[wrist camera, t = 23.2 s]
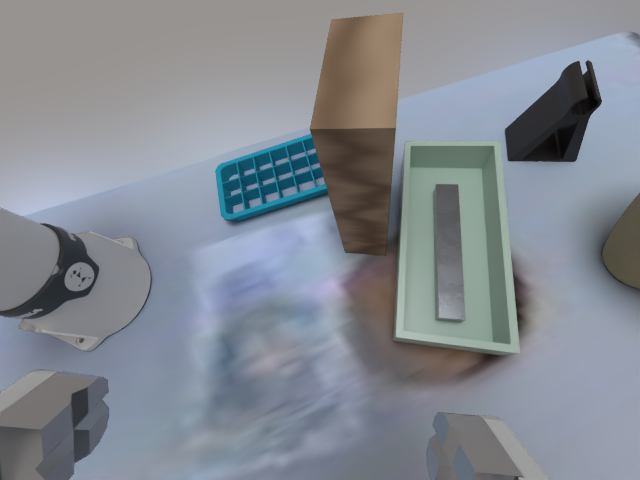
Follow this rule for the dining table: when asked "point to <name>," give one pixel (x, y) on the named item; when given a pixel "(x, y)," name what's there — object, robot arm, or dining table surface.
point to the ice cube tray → (262, 158)
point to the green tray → (477, 248)
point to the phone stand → (556, 119)
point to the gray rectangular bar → (448, 255)
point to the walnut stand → (359, 125)
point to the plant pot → (625, 247)
